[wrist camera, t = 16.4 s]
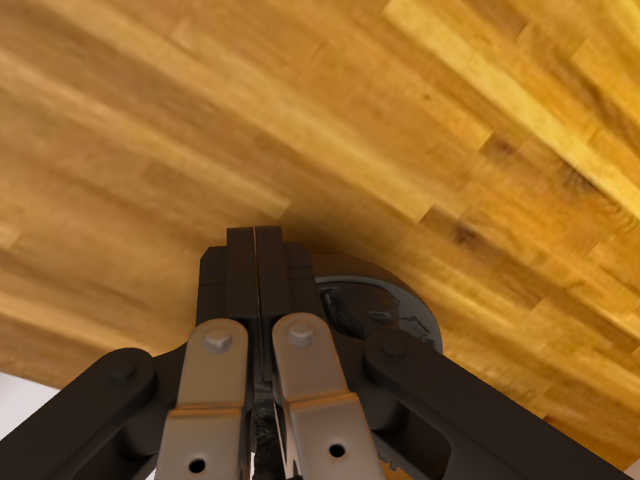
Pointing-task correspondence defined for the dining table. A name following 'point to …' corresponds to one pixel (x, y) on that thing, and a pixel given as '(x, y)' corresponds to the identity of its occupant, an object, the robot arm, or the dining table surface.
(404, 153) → the dining table surface
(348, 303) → the bowl of black rocks
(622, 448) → the dining table surface
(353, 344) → the robot arm
